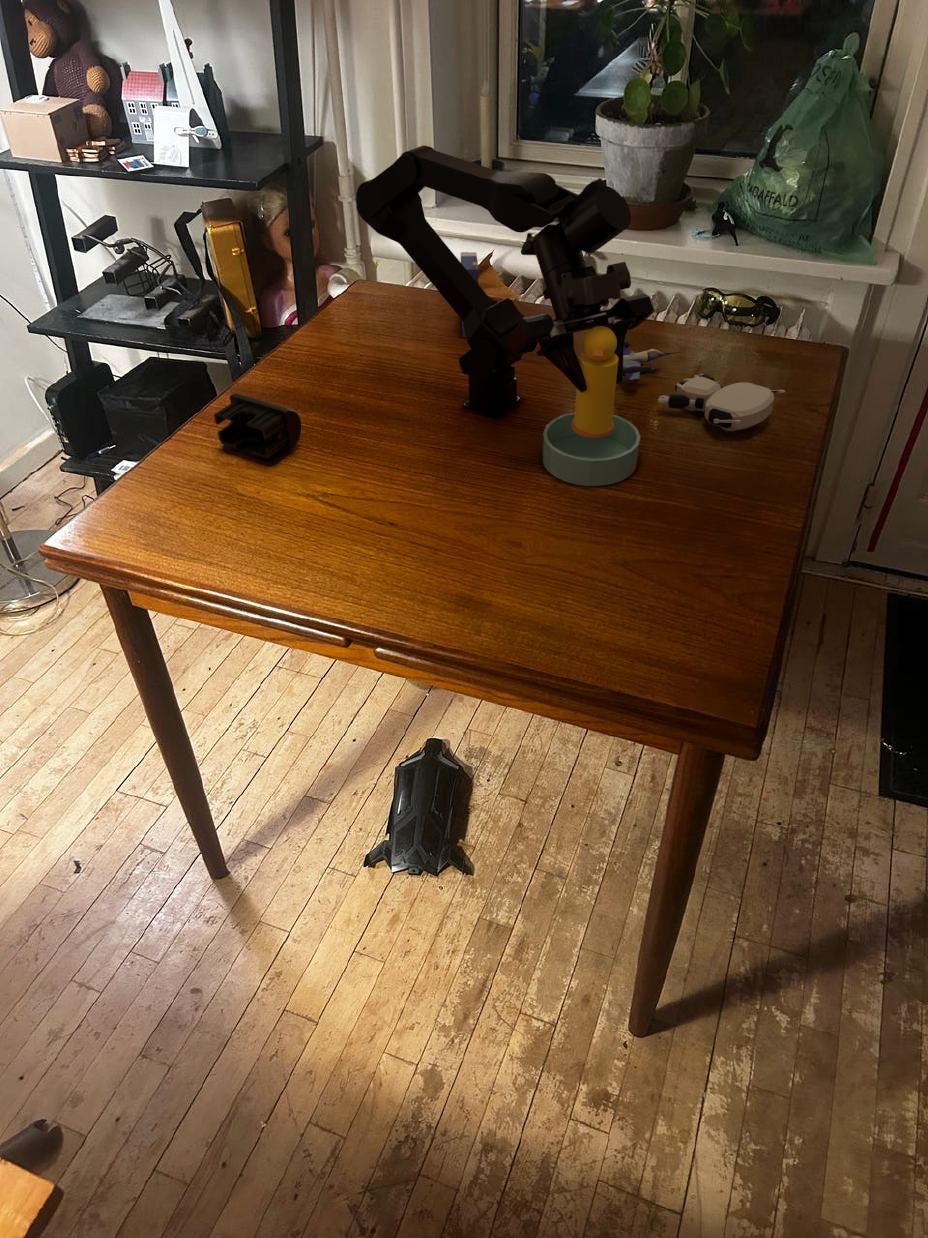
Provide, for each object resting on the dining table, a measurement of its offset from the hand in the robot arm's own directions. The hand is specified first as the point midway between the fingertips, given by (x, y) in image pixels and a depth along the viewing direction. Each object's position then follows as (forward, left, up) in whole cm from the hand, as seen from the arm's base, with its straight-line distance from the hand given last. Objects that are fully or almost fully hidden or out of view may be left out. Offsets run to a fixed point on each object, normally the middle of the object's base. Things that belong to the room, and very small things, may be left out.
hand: (601, 386), depth 119 cm
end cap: (-43, -21, -12) cm, 49 cm away
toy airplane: (-9, +27, -12) cm, 31 cm away
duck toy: (-1, +1, -7) cm, 7 cm away
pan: (-2, +1, -12) cm, 12 cm away
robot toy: (+8, +22, -12) cm, 27 cm away
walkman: (-40, +28, -12) cm, 50 cm away
